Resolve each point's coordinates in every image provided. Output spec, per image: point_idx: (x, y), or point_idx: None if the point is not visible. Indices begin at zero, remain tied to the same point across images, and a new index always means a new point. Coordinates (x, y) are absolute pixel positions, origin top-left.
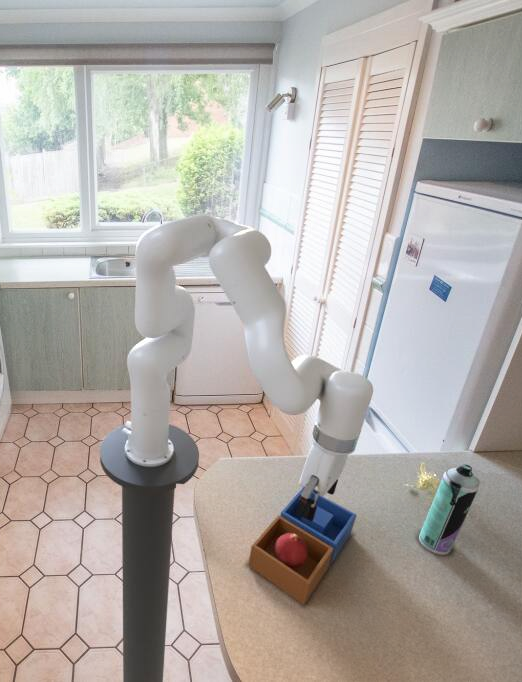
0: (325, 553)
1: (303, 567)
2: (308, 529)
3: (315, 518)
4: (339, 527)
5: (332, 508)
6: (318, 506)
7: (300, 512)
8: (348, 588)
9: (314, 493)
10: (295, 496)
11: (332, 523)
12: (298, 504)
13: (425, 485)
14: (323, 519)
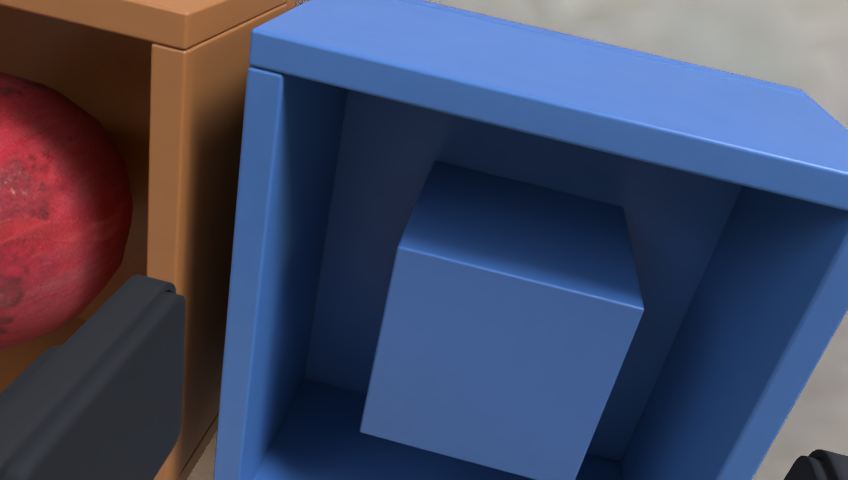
0: None
1: (132, 248)
2: (226, 330)
3: (427, 360)
4: (641, 418)
5: (694, 459)
6: (733, 311)
7: (39, 363)
8: (204, 462)
9: (808, 326)
10: (640, 129)
11: (659, 375)
12: (51, 360)
13: None
14: (459, 420)
